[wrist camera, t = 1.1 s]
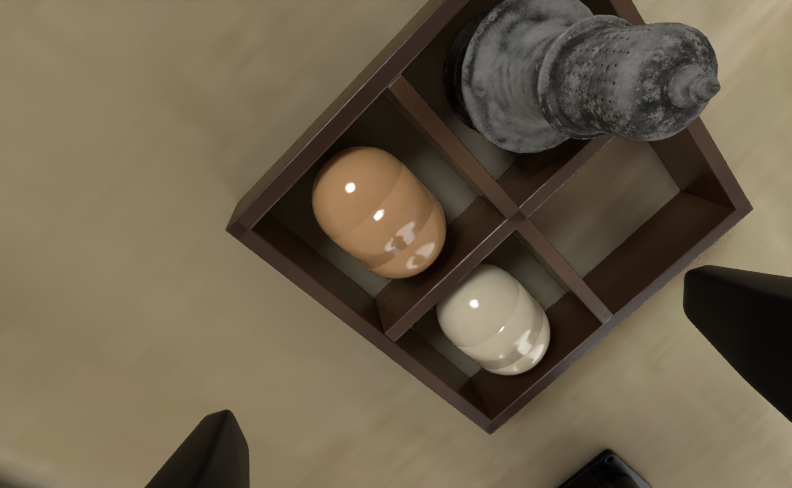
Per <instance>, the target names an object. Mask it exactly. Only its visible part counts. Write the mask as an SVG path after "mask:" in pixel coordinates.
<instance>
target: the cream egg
mask: <svg viewBox="0 0 792 488" xmlns="http://www.w3.org/2000/svg"><path fill="white" fill-rule="evenodd" d="M436 315H437V319H438V322H439V325H440V327H441V329H442V331H443V333H444V334H445V335H446V337H447V338H448V339H449V340H450V341H451V342H452V343H453V344H454V345H455V346H456V347H458V348H459V349H460V350H461V351H462V352H464V353H465V354H466V355H467V356H468V357H469V358H471V359H472V360H473V361H474V362H475V363H476V364H478V365H479V366H480V367H482V368H484V369H485V370H487V371H489V372H492V373H495V374H498V375H508V376H511V375H517V374H520V373H524V372H526V371H528V370H530V369H532V368H533V367H534V366H536V365H537V364H538V363H539V362H540V361H541V360H542V358H543V357H544V355H545V353H546V351H547V349H548V346H549V342H550V335H551V334H550V324H549V320H548V318H547V315H546V313H545V311H544V309H543V308H542V307H541V305H540V304H539V303H538V301H537V300H536V299H535V298H534V297H533V296H532V295H531V294H530V293H529V292H528V291H527V290H526V289H525V288H524V287H523V286H522V285H521V284H520V283H519V282H518V281H517V280H516V279H515V278H514V277H513V276H512V275H511V274H509V273H508V272H507V271H505V270H504V269H502V268H500V267H497V266H494V265H491V264H485V263H479V264H478V265H477V266H476V267H475V268H474V269H472V270H471V271H470V272H469V273H468V274H467V275H466V276H465V277H464V278H463V279H462V280H461V281H460V282H459V283H457V284H456V285H455V286H454V287H453V288H452V289H451V290H450V291H449V292H448V293H447V294H446V295H445V296H443V297H442V298H441V299H440V300H439V301H438V302H437V303H436Z"/></svg>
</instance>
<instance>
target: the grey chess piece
mask: <svg viewBox="0 0 792 488" xmlns="http://www.w3.org/2000/svg"><path fill="white" fill-rule="evenodd" d="M717 72H718V64H717V59H716V54H715V52H714V50H713V48H712V46H711V44H710V42H709V41H708V39H707V37H706V36H705V35H703V34H702V33H701V32H700V31H699V30H698V29H696V28H693V27H690V26H688V25H685V24H681V23H655V24H645V25H635V26H632V25H631V24H630V23H629V22H628V21H626V20H624V19H622V18H619V17H616V16H613V15H595V16H594V15H593V14H592V12H591V11H590V9H589V8H588V7H587V6H585V5H584V4H583V3H582V2H580V1H579V0H505V1H504V2H502V3H500V4H499V5H497V6H496V7H495V8H494V9H493V10H490V11H486V12H483V13H481V14H480V15H478V16H476V17H475V18H473V19H472V20H470V21H469V22H468V23H467V24H466V25H465V26H464V27H463V28H462V29H461V30H460V31H459V32H458V33H457V35H456V37H455V39H454V40H453V42H452V44H451V46H450V48H449V50H448V54H447V57H446V61H445V64H444V86H445V91H446V96H447V99H448V101H449V103H450V105H451V107H452V109H453V111H454V112H455V113H456V114H457V116H458V117H459V118H460V119H461V120H462V121H463V122H464V123H466V124H467V125H469V126H471V127H472V128H474V129H476V130H478V131H479V132H480V133H481V134H482V135H483V136H484V137H485V139H487V140H488V141H490V142H492V143H493V144H495V145H496V146H498V147H500V148H502V149H505V150H509V151H513V152H516V153H537V152H540V151H543V150H547V149H550V148H553V147H555V146H557V145H559V144H560V143H562V142H564V141H565V140H567V139H569V138H574V139H577V140H580V139H593V138H596V137H599V136H603V135H605V134H610V135H614V136H618V137H622V138H627V139H631V140H635V141H656V140H661V139H665V138H668V137H671V136H673V135H675V134H676V133H678V132H680V131H681V130H683V129H684V128H686V127H687V126H688V125H689V124H690V123H691V122H692V121H694V120H695V119H696V118H697V117H698V116H699V115H700V114H701V112H702V111H703V110H704V108H705V107H706V105H707V104H708V102H709V100H710V99H711V98H712V97H713V96H714V95H716V94H717V92H718V91H719V90H720V85H719V84H720V83H719V81H718V79H717Z"/></svg>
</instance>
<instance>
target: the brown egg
mask: <svg viewBox="0 0 792 488" xmlns="http://www.w3.org/2000/svg"><path fill="white" fill-rule="evenodd" d="M311 202H312V208H313V212H314V215H315V218H316V220H317V222H318V224H319V226H320V227H321V229H322V230H323V231H324V233H325V234H326V235H327V236H328V237H329V238H330V239H332V240H333V241H334V242H335V243H336V244H337V245H339V246H340V247H341V248H342V249H343V250H344V251H346V252H347V253H348V254H349V255H350V256H351V257H353V258H354V259H355V260H356V261H357V262H358V263H360V264H361V265H362V266H363V267H364V268H366V269H367V270H369V271H370V272H372V273H374V274H376V275H378V276H381V277H385V278H391V279H403V278H408V277H411V276H414V275H417V274H419V273H421V272H423V271H424V270H426V269H427V268H428V267H429V266H430V265H431V264H432V263H433V262H434V261H435V260H436V259H437V257H438V256H439V254H440V253H441V251H442V249H443V246H444V243H445V239H446V219H445V215H444V211H443V209H442V207H441V205H440V203H439V201H438V200H437V199H436V197H435V196H434V195H433V194H432V193H431V192H430V190H429V189H428V188H427V187H426V186H425V185H424V184H423V183H422V182H421V181H420V180H419V179H418V178H417V177H416V176H415V175H414V174H413V173H412V172H411V171H410V170H409V169H408V168H407V167H406V166H405V165H404V164H403V163H402V162H401V161H400V160H399V159H398V158H396V157H395V156H394V155H393V154H391V153H389V152H387V151H385V150H383V149H380V148H377V147H373V146H363V145H362V146H355V147H349V148H347V149H344V150H341V151H339V152H338V153H336V154H334V155H333V156H331V157H330V158H329V159H328V160H327V161H326V162H325V163H324V164H323V165H322V167H321V168H320V170H319V172H318V173H317V175H316V177H315V180H314V183H313V187H312V196H311Z"/></svg>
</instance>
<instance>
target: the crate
mask: <svg viewBox="0 0 792 488" xmlns="http://www.w3.org/2000/svg"><path fill="white" fill-rule="evenodd" d="M470 1H471V0H429V1H428V2H427V3H426V4H425V6H424V7H423V8H422V9H421V10H420V11H419V12H418V13H417V14H416V15H415V16H414V17H413V18H412V19H411V20H410V21H409V22H408V23H407V25H406V26H405V27H404V28H403V29H402V30H401V31H400V32H399V33H398V34H397V35H396V36H395V37H394V38H393V39H392V40H391V41H390V43H389V44H388V45H387V46H386V47H385V48H384V49H383V50H382V51H381V52H380V53H379V54H378V55H377V56H376V57H375V58H374V59H373V60H372V62H371V63H370V64H369V65H368V66H367V67H366V68H365V69H364V70H363V71H362V72H361V73H360V74H359V75H358V76H357V77H356V78H355V80H354V81H353V82H352V83H351V84H350V85H349V86H348V87H347V88H346V89H345V90H344V91H343V92H342V93H341V94H340V95H339V96H338V98H337V99H336V100H335V101H334V102H333V103H332V104H331V105H330V106H329V107H328V108H327V109H326V110H325V111H324V112H323V113H322V114H321V115H320V117H319V118H318V119H317V120H316V121H315V122H314V123H313V124H312V125H311V126H310V127H309V128H308V129H307V130H306V131H305V132H304V133H303V135H302V136H301V137H300V138H299V139H298V140H297V141H296V142H295V143H294V144H293V145H292V146H291V147H290V148H289V149H288V150H287V151H286V152H285V154H284V155H283V156H282V157H281V158H280V159H279V160H278V161H277V162H276V163H275V164H274V165H273V166H272V167H271V168H270V169H269V170H268V172H267V173H266V174H265V175H264V176H263V177H262V178H261V179H260V180H259V181H258V182H257V183H256V184H255V185H254V186H253V187H252V188H251V189H250V191H249V192H248V193H247V194H246V195H245V196H244V197H243V198H242V199H241V200H240V201H239V202H238V203H237V205H236V208H235V210H234V212H233V214H232V216H231V218H230V220H229V223H228V225H227V227H226V229H225V230H226V231H227V232H228V233H230V234H231V235H232V236H233V237H235V238H236V239H237V240H239V241H240V242H241V243H243V244H244V245H245V246H246V247H248V248H249V249H250V250H252V251H253V252H254V253H256V254H257V255H258V256H259V257H261V258H262V259H263V260H265V261H266V262H267V263H268V264H270V265H271V266H272V267H274V268H275V269H276V270H278V271H279V272H280V273H281V274H283V275H284V276H285V277H287V278H288V279H289V280H290V281H292V282H293V283H294V284H296V285H297V286H298V287H299V288H301V289H302V290H303V291H305V292H306V293H307V294H309V295H310V296H311V297H312V298H314V299H315V300H316V301H318V302H319V303H320V304H321V305H323V306H324V307H325V308H327V309H328V310H329V311H331V312H332V313H333V314H334V315H336V316H337V317H338V318H340V319H341V320H342V321H343V322H345V323H346V324H347V325H349V326H350V327H351V328H353V329H354V330H355V331H356V332H358V333H359V334H360V335H362V336H363V337H364V338H365V339H367V340H368V341H369V342H371V343H372V344H373V345H375V346H376V347H377V348H378V349H380V350H381V351H382V352H384V353H385V354H386V355H387V356H389V357H390V358H391V359H393V360H394V361H395V362H396V363H398V364H399V365H400V366H402V367H403V368H404V369H406V370H407V371H408V372H409V373H411V374H412V375H413V376H415V377H416V378H417V379H418V380H420V381H421V382H422V383H424V384H425V385H426V386H428V387H429V388H430V389H431V390H433V391H434V392H435V393H437V394H438V395H439V396H440V397H442V398H443V399H444V400H446V401H447V402H448V403H450V404H451V405H452V406H453V407H455V408H456V409H457V410H459V411H460V412H461V413H462V414H464V415H465V416H466V417H468V418H469V419H470V420H472V421H473V422H474V423H475V424H477V425H478V426H479V427H481V428H482V429H483V430H484V431H486V432H487V433H488V434H489V435H491V434H492V433H494V432H495V431H496V430H497V429H498V428H499V427H501V426H502V425H503V424H504V423H505V422H506V421H508V420H509V419H510V418H511V417H512V416H513V415H515V414H516V413H517V412H518V411H519V410H520V409H522V408H523V407H524V406H525V405H526V404H527V403H529V402H530V401H531V400H532V399H533V398H534V397H536V396H537V395H538V394H539V393H540V392H541V391H542V390H544V389H545V388H546V387H547V386H548V385H549V384H551V383H552V382H553V381H554V380H555V379H556V378H558V377H559V376H560V375H561V374H562V373H563V372H565V371H566V370H567V369H568V368H569V367H570V366H572V365H573V364H574V363H575V362H576V361H577V360H579V359H580V358H581V357H582V356H583V355H584V354H586V353H587V352H588V351H589V350H590V349H591V348H593V347H594V346H595V345H596V344H597V343H598V342H600V341H601V340H602V339H603V338H604V337H605V336H606V335H608V334H609V333H610V332H611V331H612V330H613V329H615V328H616V327H617V326H618V325H619V324H620V323H622V322H623V321H624V320H625V319H626V318H627V317H629V316H630V315H631V314H632V313H633V312H634V311H636V310H637V309H638V308H639V307H640V306H641V305H643V304H644V303H645V302H646V301H647V300H648V299H650V298H651V297H652V296H653V295H654V294H655V293H657V292H658V291H659V290H660V289H661V288H662V287H664V286H665V285H666V284H667V283H668V282H669V281H671V280H672V279H673V278H674V277H675V276H676V275H677V274H679V273H680V272H681V271H682V270H683V269H684V268H686V267H687V266H688V265H689V264H690V263H691V262H693V261H694V260H695V259H696V258H697V257H698V256H700V255H701V254H702V253H703V252H704V251H705V250H707V249H708V248H709V247H710V246H711V245H712V244H714V243H715V242H716V241H717V240H718V239H719V238H721V237H722V236H723V235H724V234H725V233H726V232H728V231H729V230H730V229H731V228H732V227H733V226H735V225H736V224H737V223H738V222H739V221H740V220H741V219H743V218H744V217H745V216H746V215H747V214H748V213H750V212H751V211H752V210H753V207H752V206H751V204H750V202H749V201H748V199H747V197H746V196H745V194H744V192H743V191H742V189H741V187H740V185H739V184H738V182H737V180H736V179H735V177H734V175H733V173H732V172H731V170H730V168H729V167H728V165H727V163H726V161H725V160H724V158H723V156H722V155H721V153H720V151H719V149H718V148H717V146H716V144H715V143H714V141H713V139H712V137H711V136H710V134H709V132H708V131H707V129H706V127H705V125H704V124H703V122H702V120H701V119H700V117H699V116H698V117H697V118H696V119H695V120H694V121H692V122H691V123H690V124H689V125H688V126H687V127H686V128H684V129H683V130H681V131H680V132H678V133H676V134H675V135H673V136H671V137H668V138H665V139H661V140H656V141H649V142H650V143H651V145H652V146H653V148H654V149H655V151H656V152H657V154H658V155H659V157H660V158H661V160H662V161H663V163H664V165H665V166H666V168H667V169H668V171H669V172H670V174H671V175H672V177H673V178H674V180H675V181H676V183H677V184H678V186H679V187H680V189H681V190H682V191H681V192H680V193H678V194H677V195H676V196H675V197H674V198H673V199H672V200H671V201H669V202H668V203H667V204H666V205H665V206H664V207H663V208H662V209H660V210H659V211H658V212H657V213H656V214H655V215H654V216H653V217H651V218H650V219H649V220H648V221H647V222H646V223H645V224H644V225H642V226H641V227H640V228H639V229H638V230H637V231H636V232H635V233H633V234H632V235H631V236H630V237H629V238H628V239H627V240H626V241H624V242H623V243H622V244H621V245H620V246H619V247H618V248H617V249H615V250H614V251H613V252H612V253H611V254H610V255H609V256H608V257H606V258H605V259H604V260H603V261H602V262H601V263H600V264H599V265H597V266H596V267H595V268H594V269H593V270H592V271H591V272H590V273H588V274H587V275H586V276H585V277H584V278H583V279H581V277H580V276H579V275H578V274H577V273H576V272H575V271H574V269H573V268H572V267H571V266H570V265H569V264H568V263H567V261H566V260H565V259H564V258H563V257H562V256H561V255H560V254H559V252H558V251H557V250H556V249H555V248H554V247H553V246H552V244H551V243H550V242H549V241H548V240H547V239H546V238H545V237H544V235H543V234H542V233H541V232H540V231H539V230H538V229H537V227H536V226H535V225H534V224H533V223H532V222H531V221H530V219H529V218H528V217H529V216H530V215H532V214H533V213H534V212H535V211H536V210H537V209H538V208H539V207H540V206H541V205H542V204H543V203H544V202H545V201H547V200H548V199H549V198H550V197H551V196H552V195H553V194H554V193H555V192H556V191H557V190H558V189H559V188H560V187H562V186H563V185H564V184H565V183H566V182H567V181H568V180H569V179H570V178H571V177H572V176H573V175H574V174H576V173H577V172H578V171H579V170H580V169H581V168H582V167H583V166H584V165H585V164H586V163H587V162H588V161H589V160H591V159H592V158H593V157H594V156H595V155H596V154H597V153H598V152H599V151H600V150H601V149H602V148H603V147H605V146H606V145H607V144H608V143H609V142H610V141H611V140H612V139H613V138H614V137H615V136H614V135H610V134H605V135H603V136H599V137H596V138H593V139H580V140H577V139H574V138H569V139H567V140H565V141H564V142H562V143H560V144H559V145H557V146H555V147H553V148H550V149H547V150H543V151H540V152H537V153H524V154H523V155H522V156H521V157H520V158H519V159H518V160H517V161H516V162H515V163H514V164H513V165H512V166H511V167H510V168H509V169H508V170H507V171H506V172H505V173H504V174H503V175H501V176H500V177H499V178H498V179H497V180H496V181H495V180H494V179H493V177H492V176H491V175H490V174H489V173H488V172H487V171H486V170H485V168H484V167H483V166H482V165H481V164H480V163H479V162H478V160H477V159H476V158H475V157H474V156H473V155H472V154H471V153H470V151H469V150H468V149H467V148H466V147H465V146H464V145H463V143H462V142H461V141H460V140H459V139H458V138H457V137H456V135H455V134H454V133H453V132H452V131H451V130H450V129H449V128H448V126H447V125H446V124H445V123H444V122H443V121H442V120H441V118H440V117H439V116H438V115H437V114H436V113H435V112H434V111H433V109H432V108H431V107H430V106H429V105H428V104H427V103H426V101H425V100H424V99H423V98H422V97H421V96H420V95H419V93H418V92H417V91H416V90H415V89H414V88H413V87H412V86H411V84H410V83H409V82H408V81H407V80H406V79H405V78H404V76H403V75H402V74H401V73H402V71H403V70H404V69H405V68H406V67H407V66H408V65H409V64H410V63H411V62H412V61H413V60H414V59H415V58H416V57H417V56H418V55H419V54H420V53H421V52H422V51H423V50H424V49H425V48H426V47H427V45H428V44H429V43H430V42H431V41H432V40H433V39H434V38H435V37H436V36H437V35H438V34H439V33H440V32H441V31H442V30H443V29H444V28H445V27H446V26H447V25H448V24H449V23H450V22H451V21H452V20H453V18H454V17H455V16H456V15H457V14H458V13H459V12H460V11H461V10H462V9H463V8H464V7H465V6H466V5H467V4H468V3H469V2H470ZM579 1H580V2H582V3H583V4H584V5H585V6H587V7H588V8H589V9H590V11H591V12H592V14H593V15H594V16H595V15H613V16H616V17H619V18H622V19H624V20H626V21H628V22H629V23H630V24H631V25H632V26H635V25H645V23H644V21H643V19H642V17H641V16H640V14H639V12H638V11H637V9H636V7H635V5H634V4H633V2H632V0H579ZM382 92H383V93H384V94H385V96H386V97H387V98H388V99H389V100H390V101H391V102H392V103H393V104H394V105H395V106H396V107H397V109H398V110H399V111H400V112H401V113H402V114H403V115H404V116H405V117H406V118H407V119H408V121H409V122H410V123H411V124H412V125H413V126H414V127H415V128H416V129H417V130H418V131H419V132H420V134H421V135H422V136H423V137H424V138H425V139H426V140H427V141H428V142H429V143H430V144H431V146H432V147H433V148H434V149H435V150H436V151H437V152H438V153H439V154H440V155H441V156H442V157H443V159H444V160H445V161H446V162H447V163H448V164H449V165H450V166H451V167H452V168H453V169H454V171H455V172H456V173H457V174H458V175H459V176H460V177H461V178H462V179H463V180H464V181H465V182H466V184H467V185H468V186H469V187H470V188H471V189H472V190H473V191H474V192H475V193H476V194H477V196H478V197H479V198H477V199H476V200H475V201H474V202H473V203H472V204H471V205H470V206H469V207H468V208H467V209H466V210H465V211H464V212H463V213H462V214H461V215H460V216H459V217H458V218H457V219H456V220H455V221H453V222H452V223H451V224H450V225H449V226H448V227H447V228H446V239H445V243H444V246H443V249H442V251H441V253H440V254H439V256H438V257H437V259H436V260H435V261H434V262H433V263H432V264H431V265H430V266H429V267H428V268H427V269H426V270H424V271H423V272H421V273H419V274H417V275H414V276H411V277H408V278H403V279H393V280H392V281H391V282H390V283H389V284H388V285H387V286H386V287H385V288H384V289H383V290H381V291H380V292H379V293H378V294H377V295H376V296H375V297H374V299H373V298H372V297H371V296H370V295H369V294H367V293H366V292H365V291H364V290H363V289H361V288H360V287H359V286H358V285H357V284H355V283H354V282H353V281H352V280H351V279H349V278H348V277H347V276H346V275H344V274H343V273H342V272H341V271H340V270H338V269H337V268H336V267H335V266H334V265H332V264H331V263H330V262H329V261H328V260H326V259H325V258H324V257H323V256H322V255H320V254H319V253H318V252H317V251H316V250H314V249H313V248H312V247H311V246H309V245H308V244H307V243H306V242H305V241H303V240H302V239H301V238H300V237H299V236H297V235H296V234H295V233H294V232H293V231H291V230H290V229H289V228H288V227H287V226H285V225H284V224H283V223H282V222H280V221H279V220H278V219H277V218H276V217H274V216H273V215H272V214H271V213H270V212H268V211H269V210H270V209H271V208H272V207H273V206H274V205H275V204H276V203H277V201H278V200H279V199H280V198H281V197H282V196H283V195H284V194H285V193H286V192H287V191H288V190H289V189H290V188H291V187H292V186H293V185H294V184H295V183H296V182H297V181H298V180H299V179H300V178H301V177H302V175H303V174H304V173H305V172H306V171H307V170H308V169H309V168H310V167H311V166H312V165H313V164H314V163H315V162H316V161H317V160H318V159H319V158H320V157H321V156H322V155H323V154H324V153H325V152H326V151H327V149H328V148H329V147H330V146H331V145H332V144H333V143H334V142H335V141H336V140H337V139H338V138H339V137H340V136H341V135H342V134H343V133H344V132H345V131H346V130H347V129H348V128H349V127H350V126H351V125H352V123H353V122H354V121H355V120H356V119H357V118H358V117H359V116H360V115H361V114H362V113H363V112H364V111H365V110H366V109H367V108H368V107H369V106H370V105H371V104H372V103H373V102H374V101H375V100H376V99H377V97H378V96H379V95H380V94H381V93H382ZM511 233H512V234H513V235H514V236H515V237H516V238H517V239H518V240H519V241H520V242H521V243H522V244H523V246H524V247H525V248H526V249H527V250H528V251H529V252H530V253H531V254H532V255H533V256H534V257H535V259H536V260H537V261H538V262H539V263H540V264H541V265H542V266H543V267H544V268H545V269H546V271H547V272H548V273H549V274H550V275H551V276H552V277H553V278H554V279H555V280H556V281H557V282H558V284H559V285H560V286H561V287H562V288H563V289H564V290H565V291H566V292H567V293H566V294H565V295H564V296H563V297H561V298H560V299H559V300H558V301H557V302H556V303H555V304H554V305H552V306H551V307H550V308H549V309H548V310H547V311H546V312H545V313H546V315H547V318H548V320H549V324H550V334H551V335H550V342H549V346H548V349H547V351H546V353H545V355H544V357H543V358H542V360H541V361H540V362H539V363H538V364H537V365H536V366H534V367H533V368H532V369H530V370H528V371H526V372H524V373H520V374H517V375H511V376H508V375H498V374H495V373H492V372H489V371H487V370H485V369H484V368H482V369H480V370H479V371H478V372H477V373H476V374H475V375H474V376H473V377H471V378H469V377H468V376H466V375H465V374H464V373H463V372H462V371H460V370H459V369H458V368H457V367H456V366H454V365H453V364H452V363H451V362H449V361H448V360H447V359H446V358H445V357H443V356H442V355H441V354H440V353H439V352H437V351H436V350H435V349H434V348H433V347H431V346H430V345H429V344H428V343H427V342H425V341H424V340H423V339H422V338H421V337H419V336H418V335H417V334H416V333H414V332H413V331H412V330H411V329H410V327H411V326H412V325H413V324H415V323H416V322H417V321H418V320H419V319H420V318H421V317H422V316H423V315H424V314H425V313H426V312H427V311H428V310H430V309H431V308H432V307H433V306H434V305H435V304H436V303H437V302H438V301H439V300H440V299H441V298H442V297H443V296H445V295H446V294H447V293H448V292H449V291H450V290H451V289H452V288H453V287H454V286H455V285H456V284H457V283H459V282H460V281H461V280H462V279H463V278H464V277H465V276H466V275H467V274H468V273H469V272H470V271H471V270H472V269H474V268H475V267H476V266H477V265H478V264H479V263H480V262H481V261H482V260H483V259H484V258H485V257H486V256H488V255H489V254H490V253H491V252H492V251H493V250H494V249H495V248H496V247H497V246H498V245H499V244H500V243H501V242H503V241H504V240H505V239H506V238H507V237H508V236H509V235H510V234H511Z"/></svg>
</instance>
